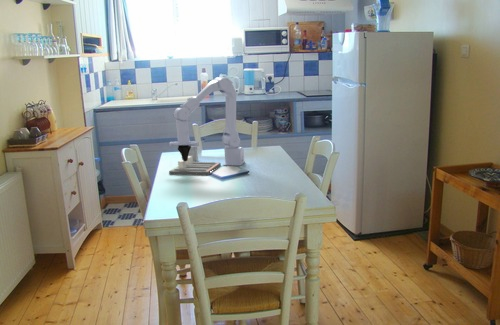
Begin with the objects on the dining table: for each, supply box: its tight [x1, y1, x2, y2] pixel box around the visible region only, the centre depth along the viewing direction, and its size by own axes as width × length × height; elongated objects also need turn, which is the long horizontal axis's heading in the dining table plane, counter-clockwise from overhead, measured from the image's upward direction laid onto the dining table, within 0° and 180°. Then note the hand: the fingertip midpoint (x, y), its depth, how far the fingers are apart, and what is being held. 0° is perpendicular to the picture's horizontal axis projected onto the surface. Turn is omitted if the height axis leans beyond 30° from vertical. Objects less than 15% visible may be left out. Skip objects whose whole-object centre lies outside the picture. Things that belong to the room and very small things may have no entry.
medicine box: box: [181, 146, 199, 162], centre depth 244 cm, size 8×4×9 cm, turn 84°
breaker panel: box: [168, 161, 222, 176], centre depth 226 cm, size 20×18×2 cm
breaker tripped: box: [177, 159, 187, 169], centre depth 223 cm, size 2×4×4 cm, turn 165°
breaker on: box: [186, 156, 193, 164], centre depth 231 cm, size 2×4×4 cm, turn 164°
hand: (185, 160), depth 222 cm, fingers closed
